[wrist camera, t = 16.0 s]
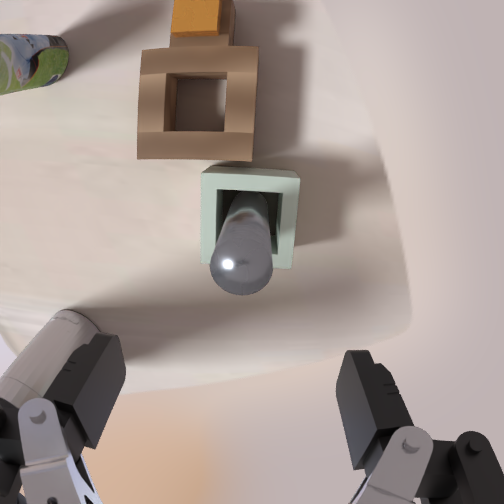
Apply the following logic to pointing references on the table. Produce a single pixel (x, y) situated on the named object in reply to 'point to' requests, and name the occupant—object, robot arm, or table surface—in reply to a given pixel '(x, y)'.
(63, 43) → the beverage can
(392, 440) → the robot arm
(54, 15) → the table surface
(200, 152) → the socket block
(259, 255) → the peg
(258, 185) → the rack
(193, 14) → the orange square-headed peg
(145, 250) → the table surface
